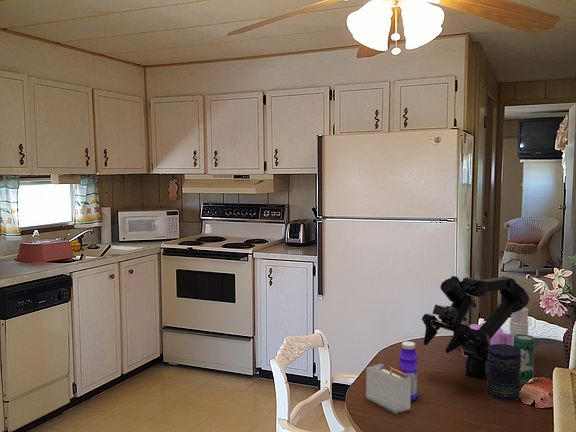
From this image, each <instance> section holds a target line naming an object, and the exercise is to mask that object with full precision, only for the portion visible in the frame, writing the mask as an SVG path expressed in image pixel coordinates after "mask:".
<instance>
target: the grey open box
mask: <svg viewBox="0 0 576 432" xmlns="http://www.w3.org/2000/svg"><path fill="white" fill-rule="evenodd" d="M382 369H385V365H384V364H382V363H378V364H374V365H372V366H371V365H370V366H367V367H366V377H365V378H366V381H365V382H366V384H365V385H366V394H365V395H366V400H368V401H371V402H372V403H374V404H376V405H377V406H380V407H381V408H383V409H385V410H387V411H389V412H390V413H392V414H394V415H398V414H401V413H403V412H406V411H409V410H411V400H410V396H411V377H410V376H409V375H406V376H401V377H398V378H396V377H394V376H392V375H389V374H387V373H385V372H383V371H381V370H382Z"/></svg>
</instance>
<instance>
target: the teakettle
mask: <svg viewBox="0 0 576 432" xmlns="http://www.w3.org/2000/svg"><path fill="white" fill-rule="evenodd" d="M484 323H485V322H483V323H479V324H475V323H472V324H469V325H468V326H469V327H470V328H471V329H475V330H478V329H479V328H480V327H481V326H482V325H483V324H484ZM505 339H506V343H505ZM493 344H506V345H511V346H513V338H512V334H510V333H506V332H504V331H503V328H501V327H500V329H499V330H498V331H497V332H496V333H495V334H494V336H493V337H492V338H491V339H490V345H493ZM461 355H462V357H463V358H466V359H468V356H467V355H464V353H463V349H462V348H461Z"/></svg>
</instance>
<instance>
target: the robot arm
mask: <svg viewBox="0 0 576 432" xmlns="http://www.w3.org/2000/svg"><path fill="white" fill-rule="evenodd" d="M440 291H441V292H442V293H443V294H444V295H445V296H446V298H447V299H448V300H449V302H452V303H451V305H447V306H443V305H439V304H434V308H433V310H432V314H430V313H425V314H423V316H422V317H421V321H422V322H423V324H424V325H425V333H424V339H423V342H422V343H423V345H424V346H425V347H426V346H427V345H428V344H429V343H430V342H431V341H432V340H433V339H434V338H435V336H436V335H437V334H438V331H439V330H440V329H444V330H447V331H450V332H453V333H452V334H453V335H452V338H451V340H450V341H449V342H448V344H447V346H446V348H445V351H444V352H445V353H446V354H449V353H451V352H452V351H454V350H455V349H458V348H460V347H461V350H462V349H463V353H464V355H467V356H468V358H466V360H465V376H469V377H473V378H477V379H485V378H486V379H487V376H488V362H487V361H488V347H489V346H490V339H491V338H492V337H493V336H494V334H495V333H496V332H497V331H498V330H499V329H500V328H501V327H503V325H504V324H505V323H506V321H508V319H509V318H511V314H512V313H514V312H517V311H520V310H522V309H523V308H524V307H525V308H526V306H527V305H528V303H529V301H530V297H529V294H528V293H527V291H526V290H525V288H523V287H522V286H521V285H520V284H518V283H517V282H516V280H515V279H514V278H513V277H509V276H500V277H491V278H483V279H478V278H473V277H464V278H462V280H460V279H459V277H458V276H454V275H451V277H450V278H447V279H445V280H444V281H442V282H441V284H440ZM494 291H499V294H500V304H499V305H498V306H497V307H496V309H495V310H494V311H493V312H492V314H491V315H490V316H489V317H488V318H487V319H486V320H485V321H484V322H483V323H484V324H483V325H482V326H481V327H480V328H479V329H478V330H475V329H471V328H470V327H469V326H470V325H466V324H463V322H466V321H467V320H468V319H467V318H466V316H467V315H468V313H469V311H470V309H471V308H477V304H476V299H475V298H481V297H483V296H485V295H487V294H488V293H489V292H494ZM471 296H472V297H475V298H472V297H471ZM435 315H437V316H438V318H437V317H436V316H435Z"/></svg>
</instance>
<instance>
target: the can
mask: <svg viewBox="0 0 576 432" xmlns="http://www.w3.org/2000/svg"><path fill="white" fill-rule="evenodd" d="M535 343H536V338H535V336H533V335H529V334H527V335H525V334H524V335H523V334H518V335H515V336H514V346H515V347H517V348H519V349H520V350H521V354H520V355H521V368H520V374H519V379H520V384H523V385H524V384H525V385H527V384H526V383H527V382H528V381H529V380H530V379H532V378H535V374H534V373H535V352H536V351H535V349H536V348H535V347H536V345H535Z"/></svg>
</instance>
